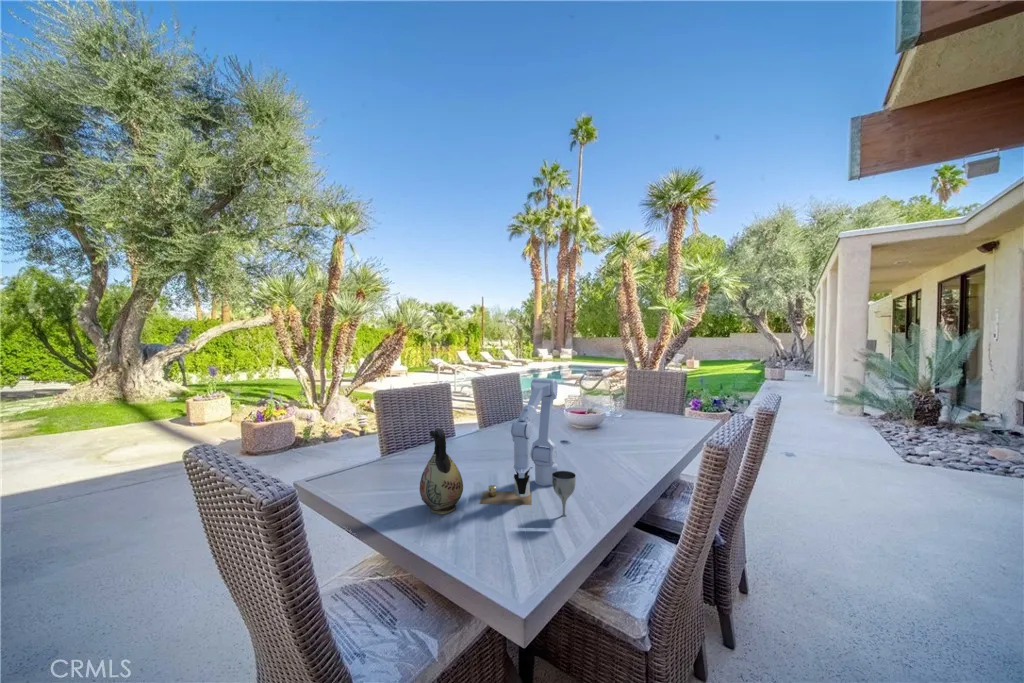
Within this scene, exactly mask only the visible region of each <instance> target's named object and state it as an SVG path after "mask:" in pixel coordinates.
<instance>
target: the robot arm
mask: <svg viewBox="0 0 1024 683" xmlns="http://www.w3.org/2000/svg"><path fill="white" fill-rule="evenodd" d="M530 391H531V394H530V397H529V399H528V402H527V405H525V406H523V407H522V410H521V412H520V414H519V415H518V419H517V421H514V422H513V423H512V425H511V427H510V428H511V430H510V434H511V437H512V442H513V452H514V453H513V457H514V458H513V463H514V464H513V469H514V470H515V473H516V474H513V478H514V481H515V480H516V483H517V486H518V492H519V494H525V491H526V485H527V482H528V480H529V479H530V475H529V472H530V470H533V468H534V479H533V481H534V482H535V484H536V485H538V486H544V487H545V486H553V484H552V473H553V472H556V471H558V463H556V461H557V458H558V453H557V452H558V451H557V445H556V443H554V442H553V441H552V440H551V432H552V421H553V420H552V419H553V408H554V406H553V405H554V400H556V399H557V396H558V382H557V380H556V379H555V378H537V377H534V378H533V379H532V380H531V383H530ZM539 404H540V416H539V425H538V426H539V427H538V438H537V439H536V440H535V441H534V442H532V445H531V446H532V447H531V449H530V444H531V443H530V438H531V436H532V435H533V434H532V433H533V428H534V424H533V423H534V421H535V419H536V417H537V414H538V411H537V407H538V406H539ZM530 459H531V461H532V462H533V464H534V465H533V464H530V463H531V462H530Z"/></svg>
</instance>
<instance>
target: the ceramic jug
mask: <svg viewBox="0 0 1024 683" xmlns="http://www.w3.org/2000/svg"><path fill="white" fill-rule="evenodd" d="M429 434H430V437H431V438H432V439H433V441H434V451H433V453H432V456H431V457H430V459H429V460H428V462H427V464H426V465H425V467H424V470H423V472H422V474H421V476H420V481H419V494H420V497H421V501H422V502H423V503H424V504H425V505H427V507H428V508H429V511H430V510H431V511H430V512H431V513H432V512H433V514H436V515H446V514H449V513H451V512H453V511H455V510H456V507H457V503H458V502H459V501H460V499H461V497H462V494H463V491H464V481H463V477H462V474H461V472H460V470H459V467H458V466H457V465H456V463H455V461H454V460H453V459H452V457H450V455H449V454H448V453H447V440H446V432H445V431H444V430H443V428H439V427H438V428H436V429H435V430H430V432H429Z"/></svg>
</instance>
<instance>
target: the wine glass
mask: <svg viewBox="0 0 1024 683" xmlns="http://www.w3.org/2000/svg"><path fill="white" fill-rule="evenodd" d="M576 479H577V477H576V473H575V472H573V471H569V470H557V471H556V472H553V473H552V484H553V485H552V487H553V491H554V493H555V495H557V496H558V498H559V500H560V501H561V505H562V514H561V517H564V518H565V517H567V514H566V504H567V501H568V499H569V498H570V497H571V496H572V495H573V494H574V491H575V488H576V482H577V480H576Z"/></svg>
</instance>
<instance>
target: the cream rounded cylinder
mask: <svg viewBox="0 0 1024 683" xmlns="http://www.w3.org/2000/svg"><path fill="white" fill-rule="evenodd" d="M487 489H488V490H487V491H488V496H489V497H496V491H497V486H496V485H494V484H490V485H488V488H487Z"/></svg>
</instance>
